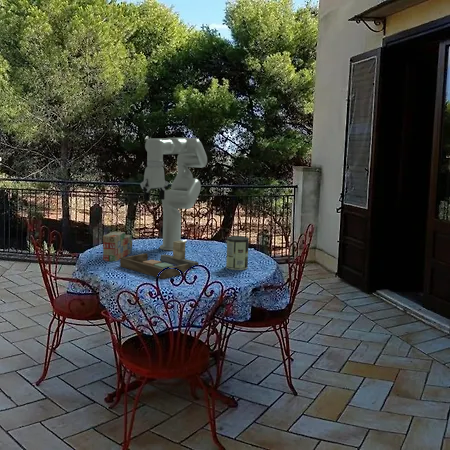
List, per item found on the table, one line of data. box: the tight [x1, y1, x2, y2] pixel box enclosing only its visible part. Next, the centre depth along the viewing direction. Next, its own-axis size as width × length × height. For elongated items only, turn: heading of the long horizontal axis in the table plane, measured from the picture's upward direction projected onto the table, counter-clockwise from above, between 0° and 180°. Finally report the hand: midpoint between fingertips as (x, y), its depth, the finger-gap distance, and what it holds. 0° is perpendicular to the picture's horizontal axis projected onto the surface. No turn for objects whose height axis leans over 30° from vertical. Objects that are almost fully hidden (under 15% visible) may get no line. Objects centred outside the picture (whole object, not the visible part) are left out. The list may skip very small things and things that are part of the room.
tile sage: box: [154, 261, 174, 269], centre depth 223 cm, size 6×6×3 cm
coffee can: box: [225, 235, 250, 271], centre depth 232 cm, size 10×10×14 cm
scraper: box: [160, 241, 199, 269], centre depth 235 cm, size 4×22×11 cm, turn 50°
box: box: [119, 252, 190, 280], centre depth 223 cm, size 15×28×4 cm, turn 50°
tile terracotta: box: [143, 259, 163, 266], centre depth 227 cm, size 6×6×3 cm
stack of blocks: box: [102, 231, 133, 262], centre depth 245 cm, size 21×6×12 cm, turn 169°
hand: (154, 199), depth 245 cm, fingers open, 9 cm apart
